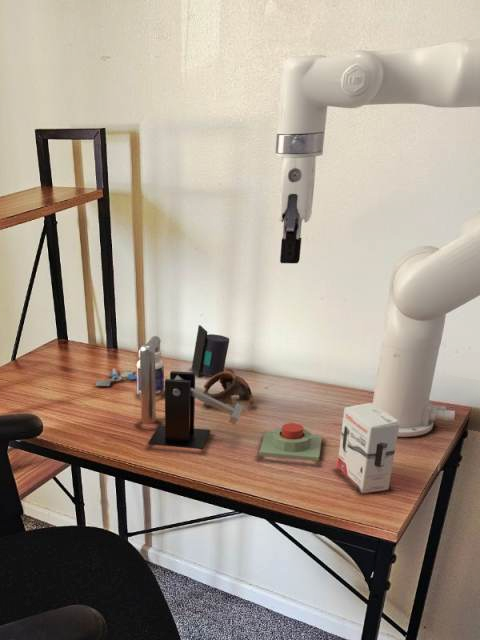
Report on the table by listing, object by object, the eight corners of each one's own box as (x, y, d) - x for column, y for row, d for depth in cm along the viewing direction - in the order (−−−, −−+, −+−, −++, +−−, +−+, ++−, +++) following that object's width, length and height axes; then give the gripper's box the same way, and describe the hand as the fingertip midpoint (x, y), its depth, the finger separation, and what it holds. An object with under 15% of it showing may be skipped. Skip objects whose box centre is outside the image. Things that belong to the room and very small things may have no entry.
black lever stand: (210, 435, 133) (212, 370, 127) (202, 454, 127) (204, 386, 120) (158, 431, 136) (158, 367, 130) (148, 449, 130) (147, 382, 123)
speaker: (189, 377, 159) (195, 331, 154) (191, 369, 164) (196, 324, 159) (223, 380, 158) (230, 334, 153) (224, 373, 163) (230, 328, 158)
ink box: (334, 470, 119) (343, 405, 113) (362, 466, 120) (372, 401, 113) (360, 494, 112) (371, 426, 106) (389, 490, 112) (402, 421, 106)
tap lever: (238, 414, 128) (244, 403, 127) (233, 427, 123) (239, 416, 122) (174, 382, 129) (179, 371, 128) (166, 394, 124) (172, 383, 123)
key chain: (99, 389, 156) (99, 386, 156) (82, 379, 162) (82, 375, 162) (153, 376, 161) (153, 373, 161) (135, 366, 167) (135, 363, 167)
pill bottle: (168, 397, 150) (168, 352, 145) (144, 402, 148) (143, 357, 143) (156, 389, 155) (156, 344, 150) (132, 393, 153) (131, 349, 148)
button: (303, 432, 125) (304, 423, 124) (301, 441, 122) (302, 432, 121) (282, 431, 126) (283, 422, 125) (280, 439, 123) (281, 430, 122)
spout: (167, 412, 144) (167, 333, 135) (156, 431, 136) (156, 348, 128) (146, 410, 145) (145, 332, 136) (134, 429, 137) (132, 347, 129)
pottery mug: (259, 416, 140) (243, 387, 135) (215, 434, 144) (198, 406, 139) (253, 380, 149) (238, 351, 144) (212, 398, 152) (195, 370, 148)
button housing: (321, 443, 128) (323, 425, 126) (318, 466, 121) (320, 447, 119) (264, 438, 131) (266, 421, 129) (258, 460, 123) (259, 442, 122)
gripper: (320, 149, 108) (308, 272, 118) (325, 140, 120) (314, 253, 130) (270, 150, 110) (262, 271, 120) (280, 142, 122) (272, 253, 132)
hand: (289, 262), depth 125 cm, fingers closed
